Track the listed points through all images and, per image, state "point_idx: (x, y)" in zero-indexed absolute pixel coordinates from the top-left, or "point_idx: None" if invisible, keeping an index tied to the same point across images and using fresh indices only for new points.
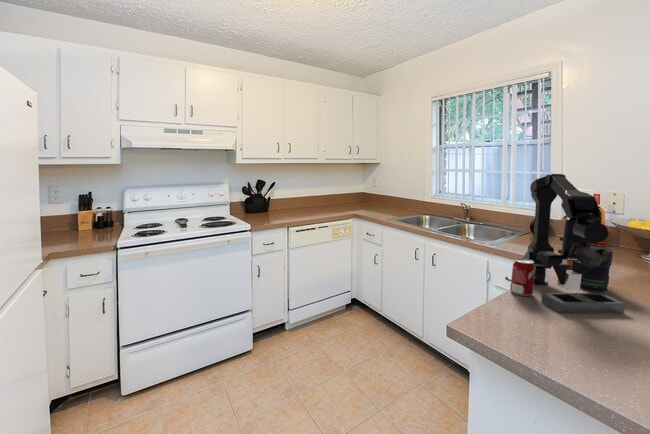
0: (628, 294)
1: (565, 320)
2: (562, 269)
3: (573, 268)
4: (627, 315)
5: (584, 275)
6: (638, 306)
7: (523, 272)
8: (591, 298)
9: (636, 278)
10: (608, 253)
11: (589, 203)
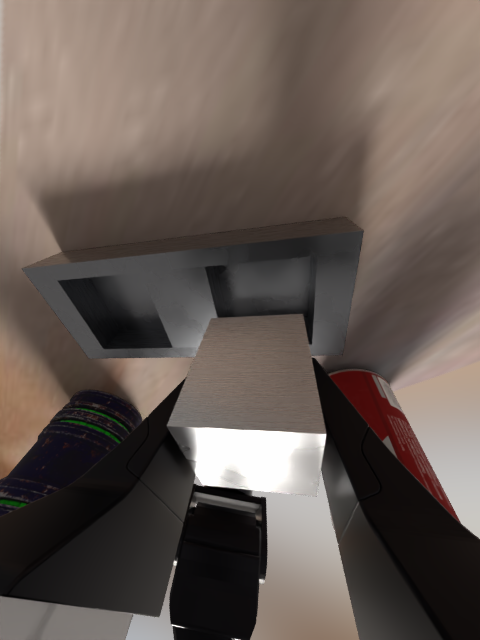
0: (28, 379)
1: (401, 101)
2: (459, 533)
3: (185, 502)
4: (52, 232)
5: (105, 447)
6: (10, 312)
7: (431, 484)
8: (138, 337)
9: (5, 436)
10: None
11: None
